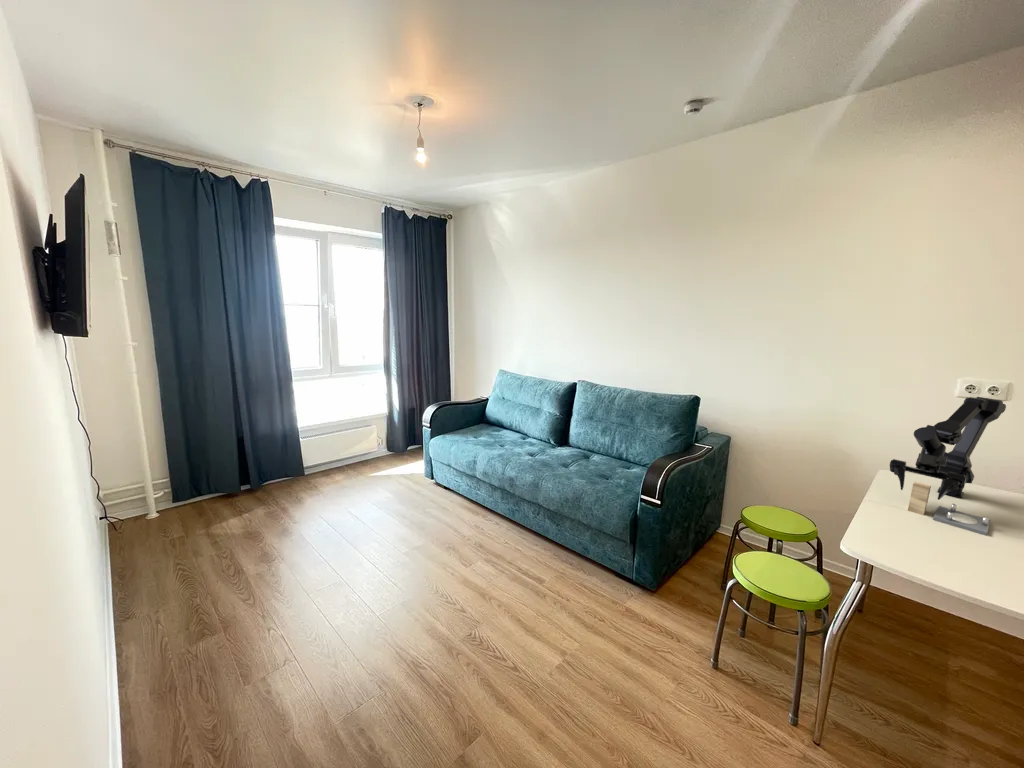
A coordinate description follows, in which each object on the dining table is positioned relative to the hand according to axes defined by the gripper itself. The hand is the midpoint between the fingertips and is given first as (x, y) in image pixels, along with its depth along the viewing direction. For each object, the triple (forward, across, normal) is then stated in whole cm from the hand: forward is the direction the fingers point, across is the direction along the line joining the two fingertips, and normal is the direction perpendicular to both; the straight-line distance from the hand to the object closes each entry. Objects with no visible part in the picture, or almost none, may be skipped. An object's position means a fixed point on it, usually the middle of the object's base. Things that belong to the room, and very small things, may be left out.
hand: (919, 494), depth 141 cm
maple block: (+4, 0, +6) cm, 7 cm away
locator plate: (+2, +10, +7) cm, 13 cm away
